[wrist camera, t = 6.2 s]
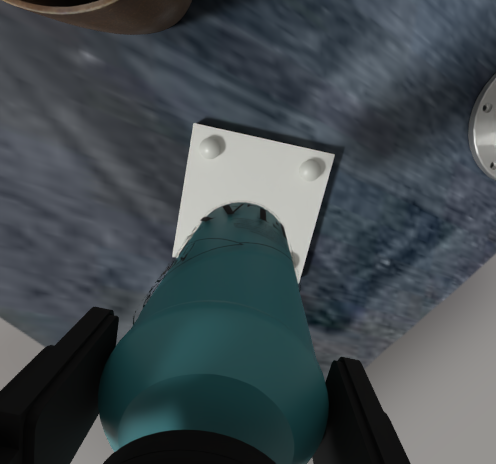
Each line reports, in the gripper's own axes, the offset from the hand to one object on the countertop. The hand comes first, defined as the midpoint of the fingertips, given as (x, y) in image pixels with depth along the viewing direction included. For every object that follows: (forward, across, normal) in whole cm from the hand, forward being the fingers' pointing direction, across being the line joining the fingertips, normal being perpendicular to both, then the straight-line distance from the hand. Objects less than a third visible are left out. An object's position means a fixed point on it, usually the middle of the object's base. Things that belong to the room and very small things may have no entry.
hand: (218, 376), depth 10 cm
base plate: (+26, 0, 0) cm, 26 cm away
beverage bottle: (+14, 0, 0) cm, 14 cm away
